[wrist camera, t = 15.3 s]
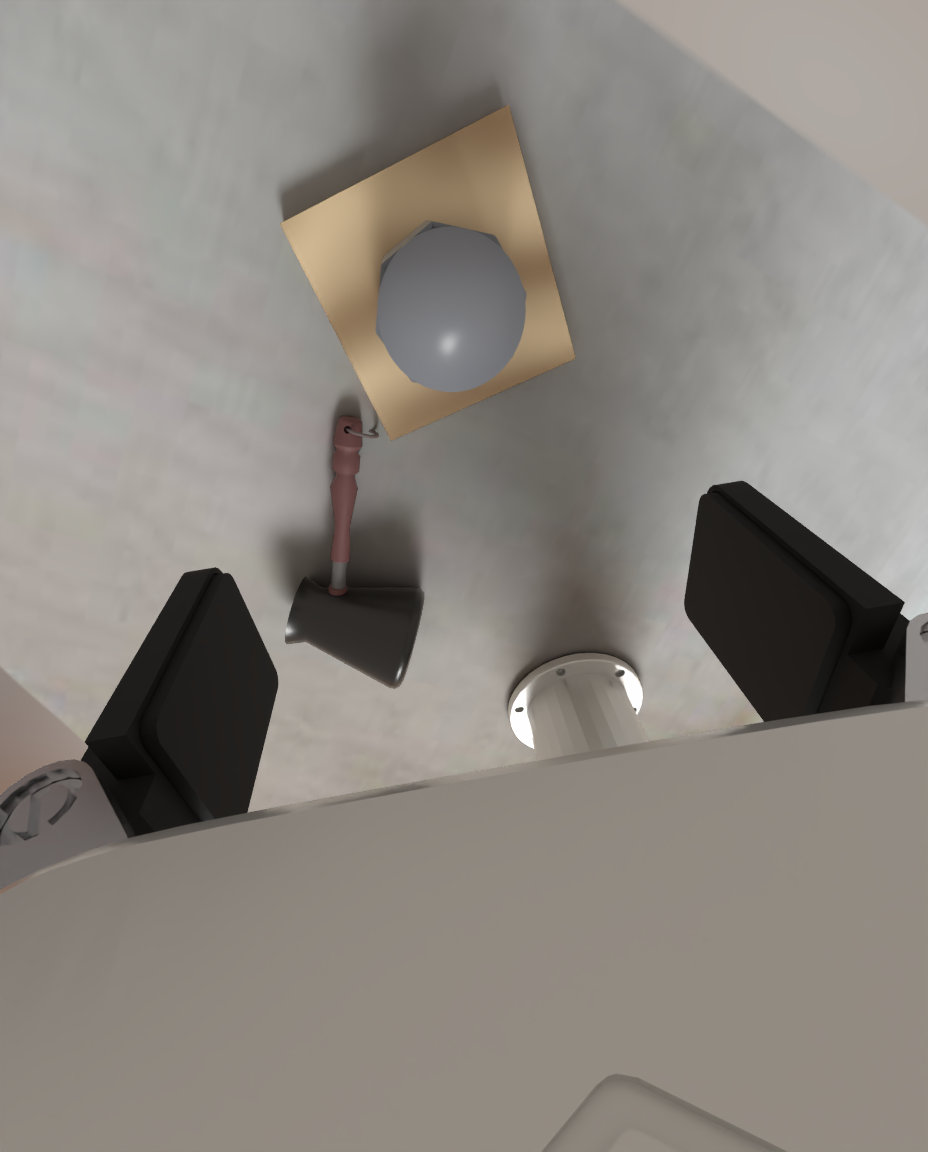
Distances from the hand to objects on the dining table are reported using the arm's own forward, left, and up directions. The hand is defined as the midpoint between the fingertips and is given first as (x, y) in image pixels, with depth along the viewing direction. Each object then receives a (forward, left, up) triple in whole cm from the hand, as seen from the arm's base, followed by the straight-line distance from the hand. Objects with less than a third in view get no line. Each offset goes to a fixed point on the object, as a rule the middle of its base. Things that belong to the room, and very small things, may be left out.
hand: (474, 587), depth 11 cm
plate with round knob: (+2, -2, -24) cm, 24 cm away
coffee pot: (-11, +9, -25) cm, 29 cm away
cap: (+2, -2, -22) cm, 22 cm away
